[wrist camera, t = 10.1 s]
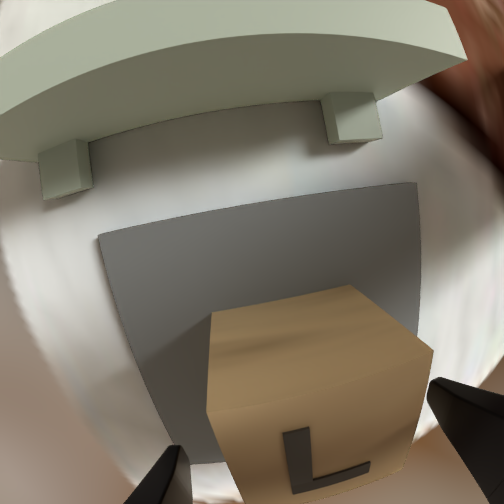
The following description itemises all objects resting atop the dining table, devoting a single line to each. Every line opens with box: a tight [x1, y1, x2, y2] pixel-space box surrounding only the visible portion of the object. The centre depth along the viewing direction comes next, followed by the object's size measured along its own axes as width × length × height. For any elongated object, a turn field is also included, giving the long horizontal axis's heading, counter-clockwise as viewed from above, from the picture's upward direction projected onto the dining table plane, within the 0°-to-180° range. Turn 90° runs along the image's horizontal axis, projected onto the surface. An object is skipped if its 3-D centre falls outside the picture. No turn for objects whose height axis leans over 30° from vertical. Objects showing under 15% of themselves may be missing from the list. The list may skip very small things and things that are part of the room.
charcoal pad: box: [98, 183, 421, 465], centre depth 13 cm, size 14×14×1 cm
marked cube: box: [206, 285, 434, 504], centre depth 10 cm, size 6×6×6 cm
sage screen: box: [0, 0, 467, 200], centre depth 7 cm, size 6×16×6 cm, turn 99°
